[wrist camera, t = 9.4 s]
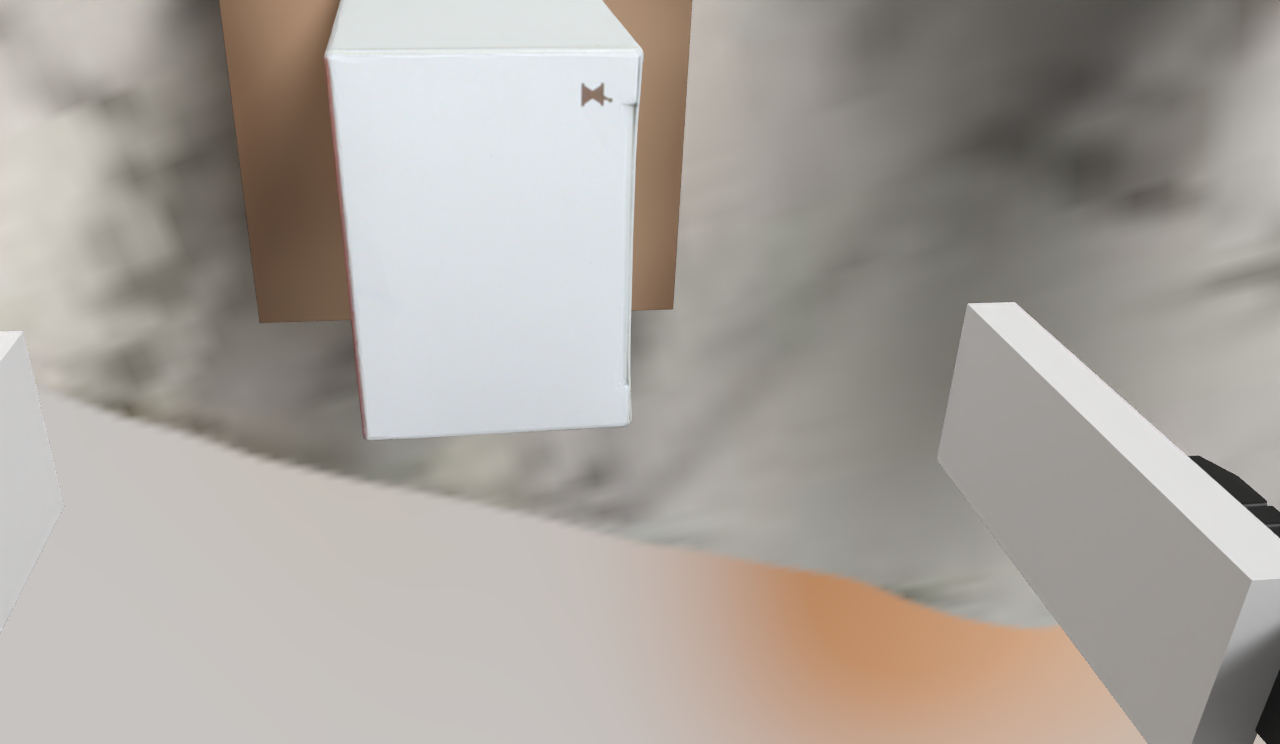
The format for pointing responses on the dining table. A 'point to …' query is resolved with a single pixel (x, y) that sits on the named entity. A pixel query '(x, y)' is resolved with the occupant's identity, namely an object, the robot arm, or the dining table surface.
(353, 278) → the small box
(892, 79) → the dining table surface
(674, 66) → the walnut block
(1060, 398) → the robot arm
